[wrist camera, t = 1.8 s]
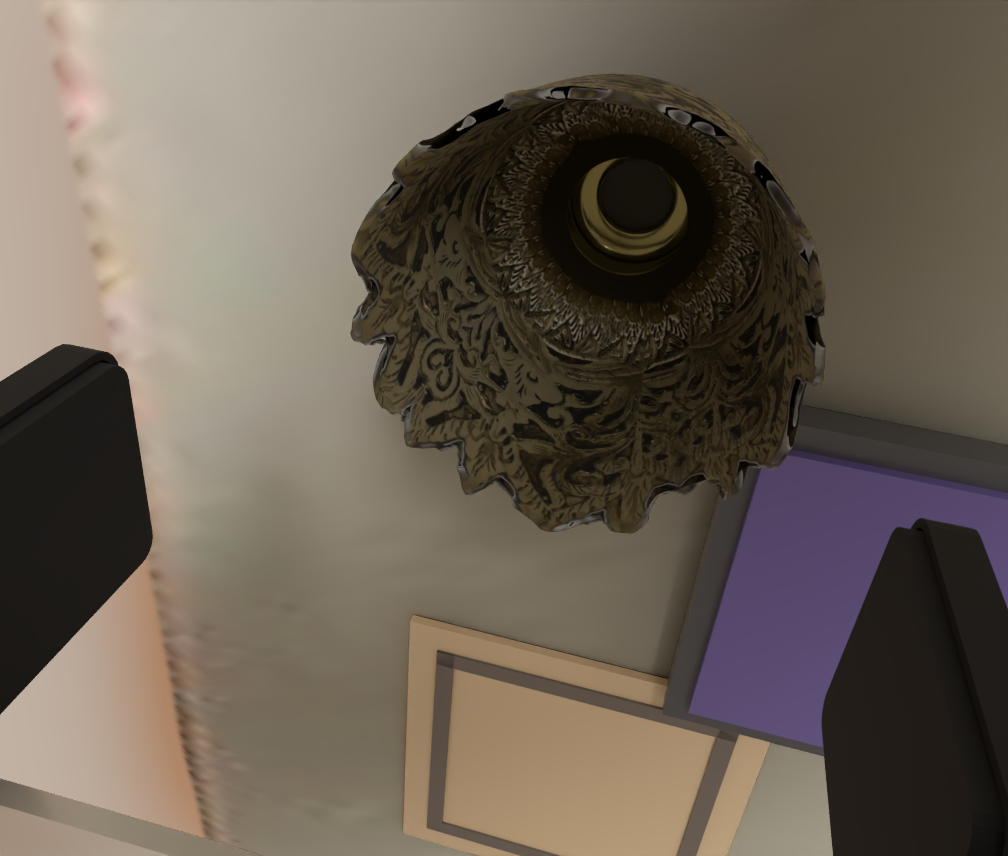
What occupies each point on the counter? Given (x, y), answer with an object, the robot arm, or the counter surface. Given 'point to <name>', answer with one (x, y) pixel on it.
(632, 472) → the cup
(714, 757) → the print card
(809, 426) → the ink pad
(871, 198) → the counter surface
